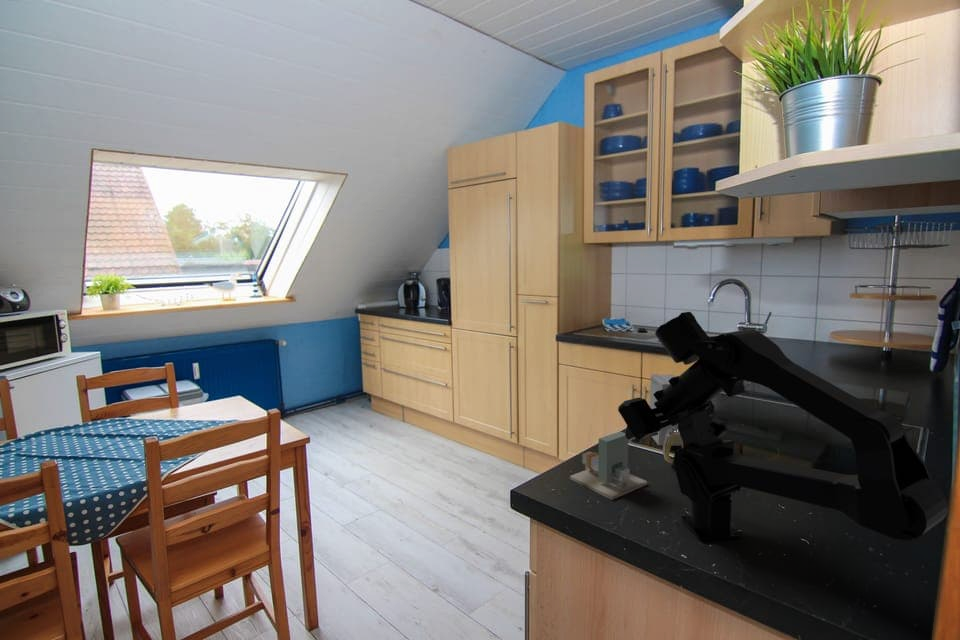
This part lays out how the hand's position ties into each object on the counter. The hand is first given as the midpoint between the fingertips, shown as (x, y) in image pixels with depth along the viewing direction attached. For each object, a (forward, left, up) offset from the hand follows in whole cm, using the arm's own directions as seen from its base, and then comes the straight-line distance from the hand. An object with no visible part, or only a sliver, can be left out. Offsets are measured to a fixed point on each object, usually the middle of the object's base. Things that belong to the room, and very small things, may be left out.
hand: (639, 433), depth 89 cm
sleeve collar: (+5, +3, -10) cm, 12 cm away
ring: (+11, -13, -12) cm, 21 cm away
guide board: (+5, +3, -11) cm, 13 cm away
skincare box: (+24, -17, -12) cm, 32 cm away
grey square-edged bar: (+6, +4, -11) cm, 13 cm away
